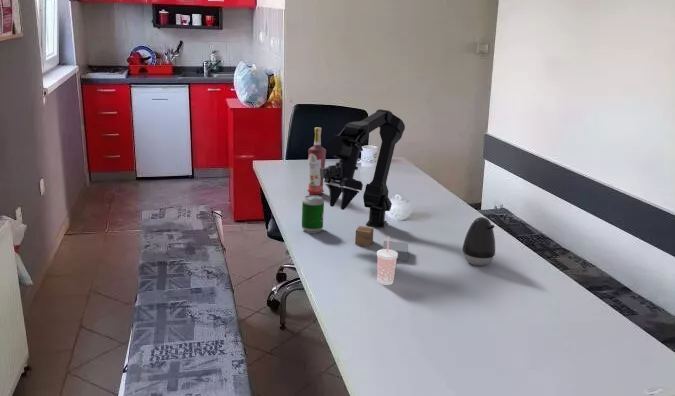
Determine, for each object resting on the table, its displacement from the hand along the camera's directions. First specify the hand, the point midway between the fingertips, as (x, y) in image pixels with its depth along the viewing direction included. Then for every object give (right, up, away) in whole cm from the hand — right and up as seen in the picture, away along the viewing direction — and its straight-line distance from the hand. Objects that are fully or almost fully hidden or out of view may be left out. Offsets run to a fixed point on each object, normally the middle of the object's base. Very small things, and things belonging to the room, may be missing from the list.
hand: (336, 208), depth 206 cm
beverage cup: (+14, -21, -22) cm, 34 cm away
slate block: (+19, -16, -2) cm, 25 cm away
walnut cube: (+9, -12, +7) cm, 17 cm away
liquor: (-9, +5, +58) cm, 59 cm away
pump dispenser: (+45, -18, -5) cm, 48 cm away
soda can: (-9, -8, +17) cm, 21 cm away
